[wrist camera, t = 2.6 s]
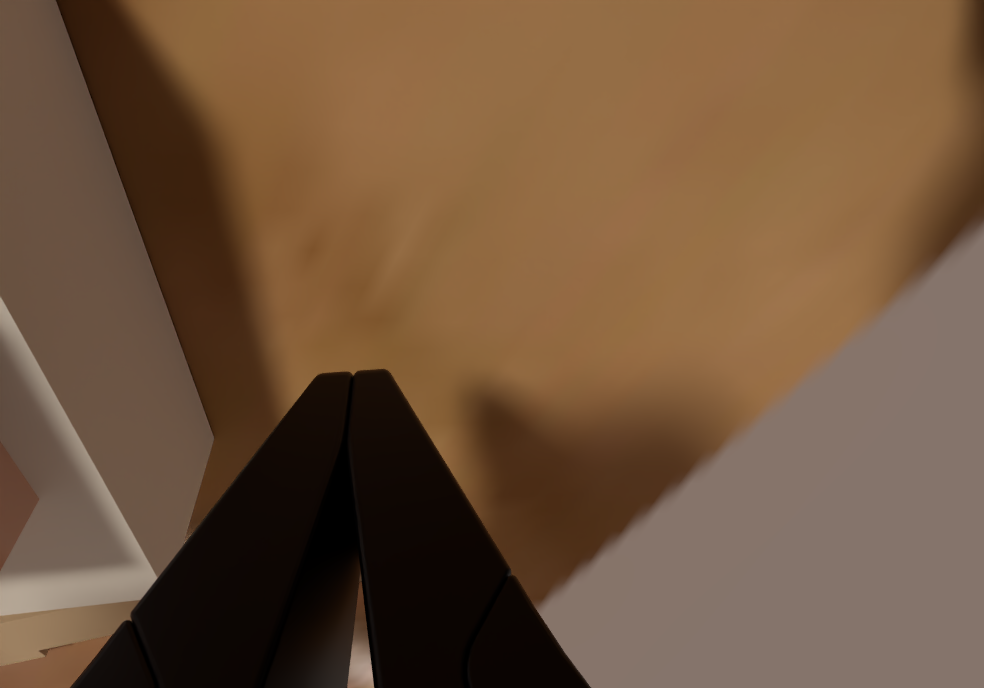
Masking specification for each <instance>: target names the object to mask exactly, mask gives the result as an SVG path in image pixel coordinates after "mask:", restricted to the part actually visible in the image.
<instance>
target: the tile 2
mask: <svg viewBox="0 0 984 688" xmlns="http://www.w3.org/2000/svg"><path fill="white" fill-rule="evenodd" d="M38 501H39V498H38V496H37V495H36V493H35V492H34V490H33V489H32V487H31V486H30V484H29V483H28V481H27V480H26V479H25V477H24V476H23V474H22V473H21V471H20V470H19V468H18V467H17V465H16V464H15V462H14V461H13V459H12V458H11V456H10V455H9V453H8V452H7V450H6V449H5V447H4V446H3V444H2V443H1V442H0V571H1V569H2V567H3V565H4V563H5V562H6V560H7V558H8V556H9V554H10V552H11V551H12V549H13V547H14V545H15V543H16V541H17V540H18V538H19V536H20V534H21V532H22V530H23V529H24V527H25V525H26V523H27V521H28V519H29V518H30V516H31V514H32V512H33V510H34V508H35V507H36V505H37V503H38Z"/></svg>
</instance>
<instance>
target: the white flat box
mask: <svg viewBox="0 0 984 688" xmlns="http://www.w3.org/2000/svg"><path fill="white" fill-rule="evenodd" d="M0 442H1V443H2V444H3V446H4V447H5V449H6V450H7V452H8V453H9V455H10V456H11V458H12V459H13V461H14V462H15V464H16V465H17V467H18V468H19V470H20V471H21V473H22V474H23V476H24V477H25V479H26V480H27V481H28V483H29V484H30V486H31V487H32V489H33V490H34V492H35V493H36V495H37V496H38V498H39V501H38V503H37V505H36V507H35V508H34V510H33V512H32V514H31V516H30V518H29V519H28V521H27V523H26V525H25V527H24V529H23V530H22V532H21V534H20V536H19V538H18V540H17V541H16V543H15V545H14V547H13V549H12V551H11V552H10V554H9V556H8V558H7V560H6V562H5V563H4V565H3V567H2V569H1V571H0V616H3V615H12V614H21V613H29V612H38V611H47V610H56V609H65V608H73V607H82V606H91V605H100V604H109V603H117V602H126V601H135V600H141V599H142V597H143V596H144V595H145V593H146V592H147V591H148V590H149V588H150V587H151V586H152V584H153V583H154V582H155V581H156V579H157V578H158V577H159V576H160V574H161V573H162V572H163V570H164V569H165V568H166V567H167V565H168V564H169V563H170V562H171V560H172V559H173V558H174V556H175V555H176V554H177V553H178V551H179V550H180V549H181V548H182V546H183V544H184V540H185V537H186V534H187V530H188V527H189V523H190V520H191V517H192V513H193V510H194V506H195V503H196V500H197V496H198V493H199V489H200V486H201V483H202V479H203V476H204V472H205V469H206V466H207V462H208V459H209V455H210V452H211V449H212V445H213V442H214V436H213V433H212V431H211V428H210V425H209V422H208V420H207V417H206V414H205V411H204V409H203V406H202V403H201V400H200V398H199V395H198V392H197V389H196V386H195V384H194V381H193V378H192V375H191V373H190V370H189V367H188V364H187V362H186V359H185V356H184V353H183V351H182V348H181V345H180V342H179V339H178V337H177V334H176V331H175V328H174V326H173V323H172V320H171V317H170V315H169V312H168V309H167V306H166V304H165V301H164V298H163V295H162V292H161V290H160V287H159V284H158V281H157V279H156V276H155V273H154V270H153V268H152V265H151V262H150V259H149V257H148V254H147V251H146V248H145V245H144V243H143V240H142V237H141V234H140V232H139V229H138V226H137V223H136V221H135V218H134V215H133V212H132V210H131V207H130V204H129V201H128V198H127V196H126V193H125V190H124V187H123V185H122V182H121V179H120V176H119V174H118V171H117V168H116V165H115V163H114V160H113V157H112V154H111V151H110V149H109V146H108V143H107V140H106V138H105V135H104V132H103V129H102V127H101V124H100V121H99V118H98V116H97V113H96V110H95V107H94V104H93V102H92V99H91V96H90V93H89V91H88V88H87V85H86V82H85V80H84V77H83V74H82V71H81V69H80V66H79V63H78V60H77V57H76V55H75V52H74V49H73V46H72V44H71V41H70V38H69V35H68V33H67V30H66V27H65V24H64V22H63V19H62V16H61V13H60V10H59V8H58V5H57V2H56V0H0Z"/></svg>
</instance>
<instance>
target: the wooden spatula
mask: <svg viewBox="0 0 984 688" xmlns="http://www.w3.org/2000/svg"><path fill="white" fill-rule="evenodd" d="M361 581H362V579H361V571H360V579H359V582H361ZM139 601H140V600H135V601H126V602H117V603H109V604H100V605H91V606H82V607H73V608H65V609H56V610H47V611H38V612H29V613H21V614H12V615H3V616H0V666H4V665H8V664H13V663H18V662H22V661H27V660H32V659H36V658H41V657H46V655H47V653H48V650H49V648H53V647H58V646H62V645H67V644H72V643H76V642H81V641H86V640H90V639H95V638H100V637H104V636H109V635H113V634H114V632H115V631H116V630H117V629H118V627H119V626H120V625H121V623H122V622H123V621H125V620H130V621H132V620H131V618H130V613H131V611H132V610H133V609H134V607H135V606H136V605H137V604H138V602H139Z"/></svg>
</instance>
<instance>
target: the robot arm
mask: <svg viewBox="0 0 984 688" xmlns="http://www.w3.org/2000/svg"><path fill="white" fill-rule="evenodd" d="M360 571H361V579H362V588H363V596H364V605H365V613H366V622H367V630H368V638H369V647H370V655H371V664H372V672H373V681H374V688H591V687H590V686H589V684H588V683H587V682H586V680H585V679H584V678H583V676H582V675H581V674H580V672H579V671H578V670H577V669H576V667H575V666H574V665H573V663H572V662H571V660H570V659H569V658H568V656H567V655H566V654H565V653H564V651H563V649H562V648H561V646H560V645H559V643H558V642H557V640H556V639H555V637H554V636H553V634H552V633H551V631H550V630H549V628H548V627H547V625H546V624H545V622H544V621H543V619H542V618H541V616H540V615H539V613H538V612H537V610H536V609H535V607H534V605H533V604H532V602H531V601H530V599H529V597H528V596H527V594H526V592H525V591H524V589H523V588H522V586H521V584H520V583H519V581H518V579H517V578H516V577H515V576H514V575H511V569H510V567H509V565H508V564H507V562H506V561H505V559H504V557H503V556H502V554H501V552H500V551H499V549H498V548H497V546H496V544H495V543H494V541H493V539H492V538H491V536H490V534H489V533H488V531H487V530H486V528H485V526H484V525H483V523H482V521H481V520H480V518H479V517H478V515H477V513H476V512H475V510H474V508H473V507H472V505H471V504H470V502H469V500H468V499H467V497H466V495H465V494H464V492H463V490H462V489H461V487H460V486H459V484H458V482H457V481H456V479H455V477H454V476H453V474H452V473H451V471H450V469H449V468H448V466H447V464H446V463H445V461H444V460H443V458H442V456H441V455H440V453H439V451H438V450H437V448H436V447H435V445H434V443H433V442H432V440H431V438H430V437H429V435H428V433H427V432H426V430H425V429H424V427H423V425H422V424H421V422H420V420H419V419H418V417H417V416H416V414H415V412H414V411H413V409H412V407H411V406H410V404H409V403H408V401H407V399H406V398H405V396H404V394H403V393H402V391H401V389H400V388H399V386H398V385H397V383H396V381H395V380H394V378H393V376H392V375H391V373H390V372H389V371H388V370H386V369H376V370H361V371H357V372H356V373H355V374H354V376H353V375H352V373H350V372H332V373H322V374H319V375H317V376H316V377H315V378H314V379H313V381H312V382H311V383H310V384H309V386H308V387H307V388H306V390H305V391H304V392H303V393H302V395H301V396H300V397H299V398H298V400H297V401H296V402H295V404H294V405H293V406H292V407H291V409H290V410H289V411H288V412H287V414H286V415H285V416H284V418H283V419H282V420H281V421H280V423H279V424H278V425H277V426H276V428H275V429H274V430H273V432H272V433H271V434H270V435H269V437H268V438H267V439H266V440H265V442H264V443H263V444H262V446H261V447H260V448H259V449H258V451H257V452H256V453H255V455H254V456H253V457H252V458H251V460H250V461H249V462H248V463H247V465H246V466H245V467H244V469H243V470H242V471H241V472H240V474H239V475H238V476H237V477H236V479H235V480H234V481H233V483H232V484H231V485H230V486H229V488H228V489H227V490H226V491H225V493H224V494H223V495H222V497H221V498H220V499H219V500H218V502H217V503H216V504H215V505H214V507H213V508H212V509H211V511H210V512H209V513H208V514H207V516H206V517H205V518H204V519H203V521H202V522H201V523H200V525H199V526H198V527H197V528H196V530H195V531H194V532H193V534H192V535H191V536H190V537H189V539H188V540H187V541H186V542H185V544H184V545H183V546H182V548H181V549H180V550H179V551H178V553H177V554H176V555H175V556H174V558H173V559H172V560H171V562H170V563H169V564H168V565H167V567H166V568H165V569H164V570H163V572H162V573H161V574H160V576H159V577H158V578H157V579H156V581H155V582H154V583H153V584H152V586H151V587H150V588H149V590H148V591H147V592H146V593H145V595H144V596H143V597H142V599H141V600H140V601H139V602H138V604H137V605H136V606H135V607H134V609H133V610H132V611H131V613H130V618H131V620H132V621H130V620H125V621H123V622H122V623H121V625H120V626H119V627H118V629H117V630H116V631H115V632H114V634H113V635H112V636H111V637H110V639H109V640H108V641H107V643H106V644H105V645H104V646H103V648H102V649H101V650H100V651H99V653H98V654H97V655H96V657H95V658H94V659H93V660H92V662H91V663H90V664H89V665H88V666H87V668H86V669H85V670H84V671H83V672H82V674H81V675H80V676H79V677H78V679H77V680H76V681H75V682H74V683H73V685H72V686H71V687H70V688H347V683H348V675H349V666H350V657H351V648H352V640H353V631H354V622H355V614H356V605H357V596H358V587H359V579H360Z"/></svg>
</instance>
